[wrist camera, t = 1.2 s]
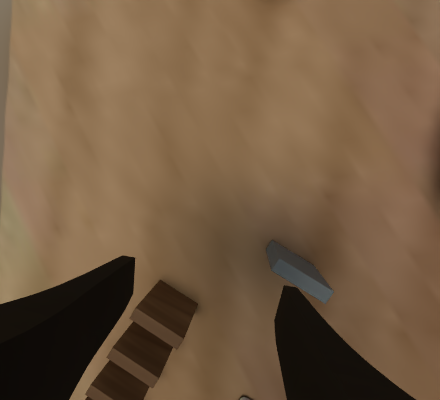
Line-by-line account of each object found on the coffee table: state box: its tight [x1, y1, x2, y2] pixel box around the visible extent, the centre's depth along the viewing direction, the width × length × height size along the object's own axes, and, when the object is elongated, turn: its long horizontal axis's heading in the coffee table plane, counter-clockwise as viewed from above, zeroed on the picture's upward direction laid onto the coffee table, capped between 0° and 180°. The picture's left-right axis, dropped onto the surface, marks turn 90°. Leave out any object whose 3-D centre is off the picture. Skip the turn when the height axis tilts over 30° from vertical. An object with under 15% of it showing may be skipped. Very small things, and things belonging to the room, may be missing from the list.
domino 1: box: [129, 280, 198, 349], centre depth 24 cm, size 1×5×6 cm, turn 59°
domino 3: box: [85, 360, 149, 400], centre depth 25 cm, size 1×5×6 cm, turn 59°
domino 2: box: [107, 321, 173, 388], centre depth 25 cm, size 1×5×6 cm, turn 59°
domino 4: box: [266, 240, 334, 304], centre depth 22 cm, size 1×5×6 cm, turn 59°
